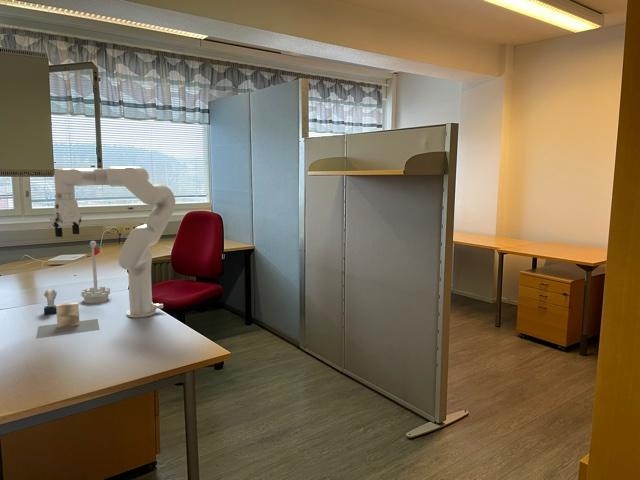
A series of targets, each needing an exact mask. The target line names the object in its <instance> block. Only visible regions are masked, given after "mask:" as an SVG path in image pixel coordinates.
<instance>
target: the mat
mask: <svg viewBox="0 0 640 480" xmlns="http://www.w3.org/2000/svg"><path fill="white" fill-rule="evenodd" d="M79 323H80V325H73V326H65V327H58V326H57V323H55V324H54V323H53V324H46V325H38V327H37V332H36V336H35V339H43V338H49V337H56V336H63V335H70V334H71V335H72V334H73V335H74V334H79V333H87V332H94V331H99V330H100V324H99V319H98V318H94V319H86V320H79Z"/></svg>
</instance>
